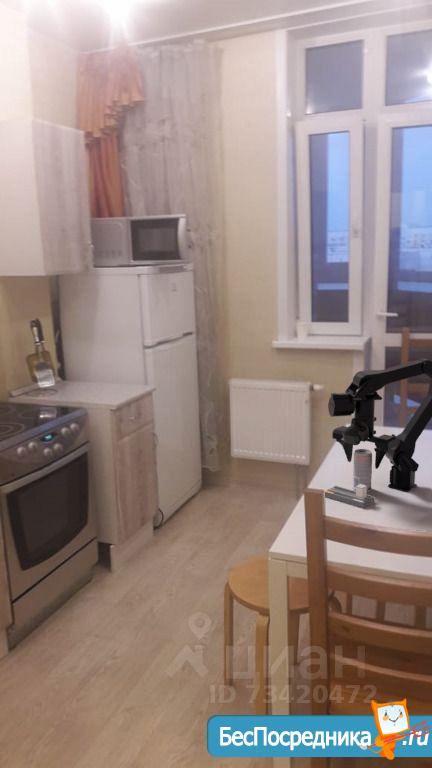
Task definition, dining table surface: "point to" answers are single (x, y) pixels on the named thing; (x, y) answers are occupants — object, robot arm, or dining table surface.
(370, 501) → the switch plate
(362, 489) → the switch knob
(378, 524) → the dining table surface
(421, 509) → the dining table surface
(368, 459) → the energy drink
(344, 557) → the dining table surface
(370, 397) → the robot arm
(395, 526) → the dining table surface
